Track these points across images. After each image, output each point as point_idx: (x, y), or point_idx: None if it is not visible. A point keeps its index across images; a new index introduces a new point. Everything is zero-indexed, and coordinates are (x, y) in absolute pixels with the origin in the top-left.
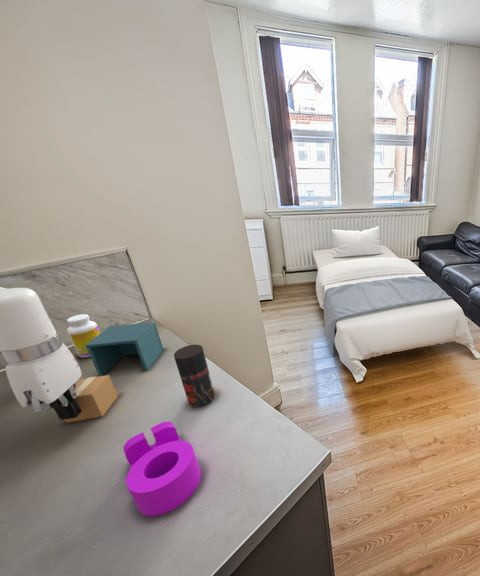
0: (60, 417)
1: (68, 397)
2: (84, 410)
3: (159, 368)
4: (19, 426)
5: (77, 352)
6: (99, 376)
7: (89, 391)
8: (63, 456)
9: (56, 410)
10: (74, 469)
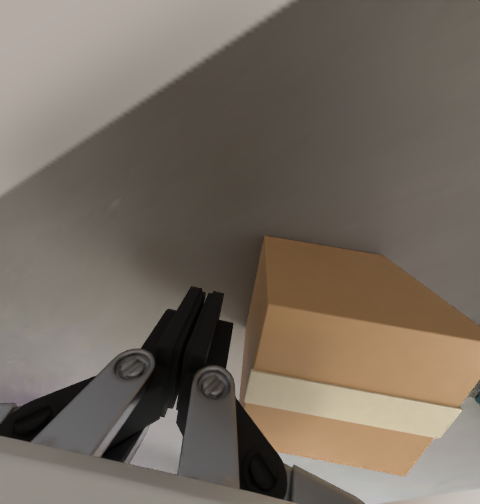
0: (166, 311)
1: (183, 430)
2: (250, 322)
3: (454, 424)
4: (343, 29)
5: None
6: (425, 448)
7: (267, 434)
8: (102, 282)
9: (142, 347)
10: (55, 319)
